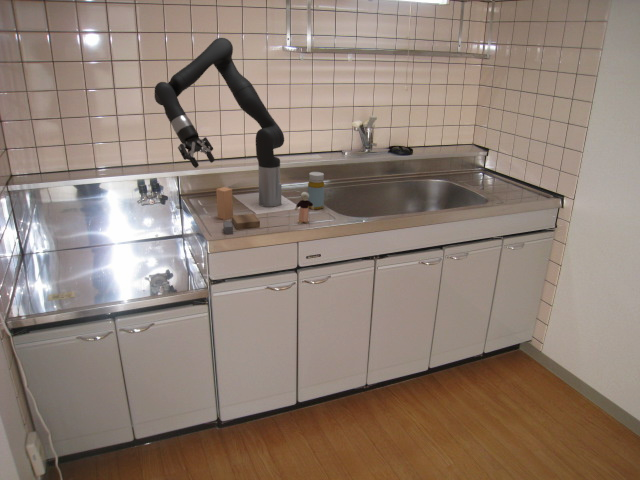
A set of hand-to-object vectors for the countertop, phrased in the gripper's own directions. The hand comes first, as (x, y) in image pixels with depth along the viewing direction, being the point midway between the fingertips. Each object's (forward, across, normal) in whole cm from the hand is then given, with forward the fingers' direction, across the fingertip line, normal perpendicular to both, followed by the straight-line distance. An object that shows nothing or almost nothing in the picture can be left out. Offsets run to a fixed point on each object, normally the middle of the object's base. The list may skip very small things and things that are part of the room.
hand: (205, 164), depth 208 cm
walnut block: (+30, +2, +4) cm, 30 cm away
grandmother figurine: (+40, -15, +16) cm, 46 cm away
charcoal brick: (+29, +11, +5) cm, 32 cm away
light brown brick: (+22, +1, -4) cm, 23 cm away
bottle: (+36, -33, +10) cm, 50 cm away
